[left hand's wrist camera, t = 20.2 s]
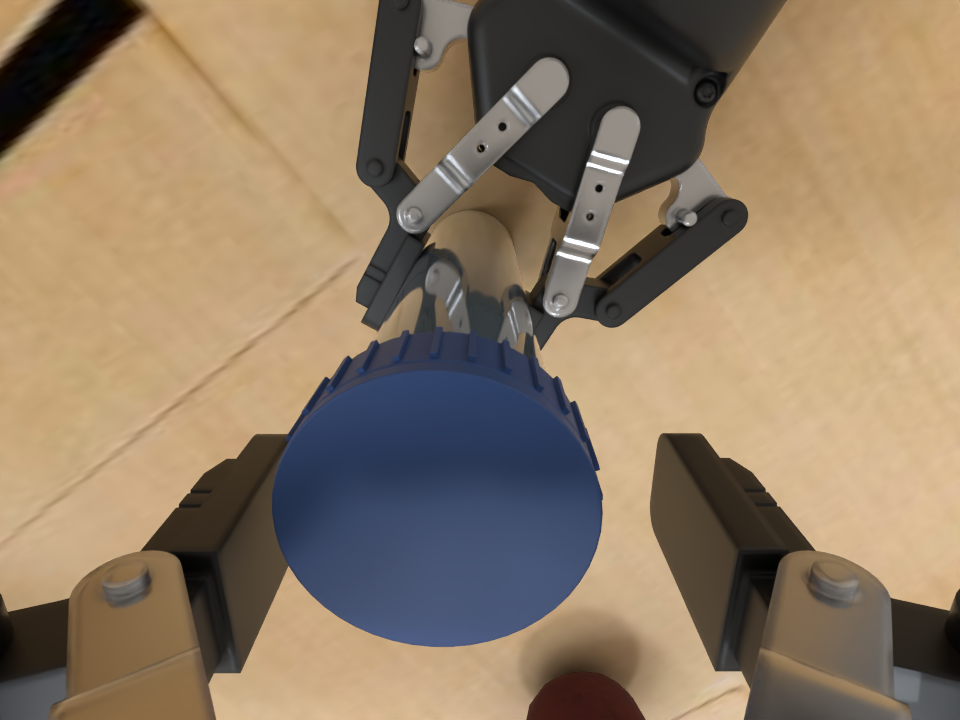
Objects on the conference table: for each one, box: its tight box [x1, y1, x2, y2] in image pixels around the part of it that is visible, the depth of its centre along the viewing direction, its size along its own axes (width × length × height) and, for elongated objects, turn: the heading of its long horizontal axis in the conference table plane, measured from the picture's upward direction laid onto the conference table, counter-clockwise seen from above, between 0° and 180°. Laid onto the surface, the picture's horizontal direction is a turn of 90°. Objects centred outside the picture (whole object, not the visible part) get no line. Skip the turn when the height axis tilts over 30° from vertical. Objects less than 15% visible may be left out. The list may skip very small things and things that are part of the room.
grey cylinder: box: [373, 210, 545, 370], centre depth 18 cm, size 4×4×20 cm
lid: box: [272, 327, 603, 647], centre depth 9 cm, size 5×5×2 cm
